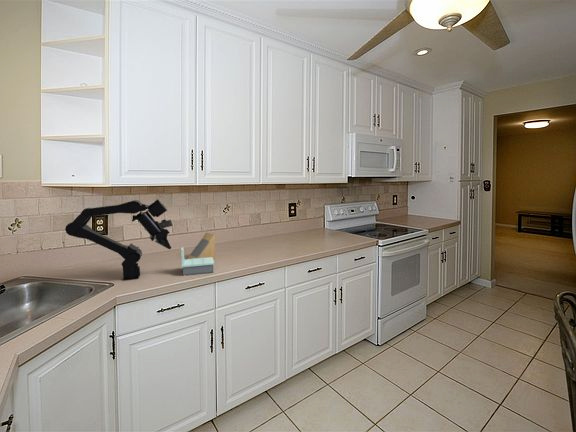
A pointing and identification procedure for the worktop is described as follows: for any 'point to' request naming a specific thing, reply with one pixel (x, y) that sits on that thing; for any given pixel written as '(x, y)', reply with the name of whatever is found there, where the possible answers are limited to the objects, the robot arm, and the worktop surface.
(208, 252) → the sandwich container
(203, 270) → the parts tub
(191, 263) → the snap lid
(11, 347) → the worktop surface
